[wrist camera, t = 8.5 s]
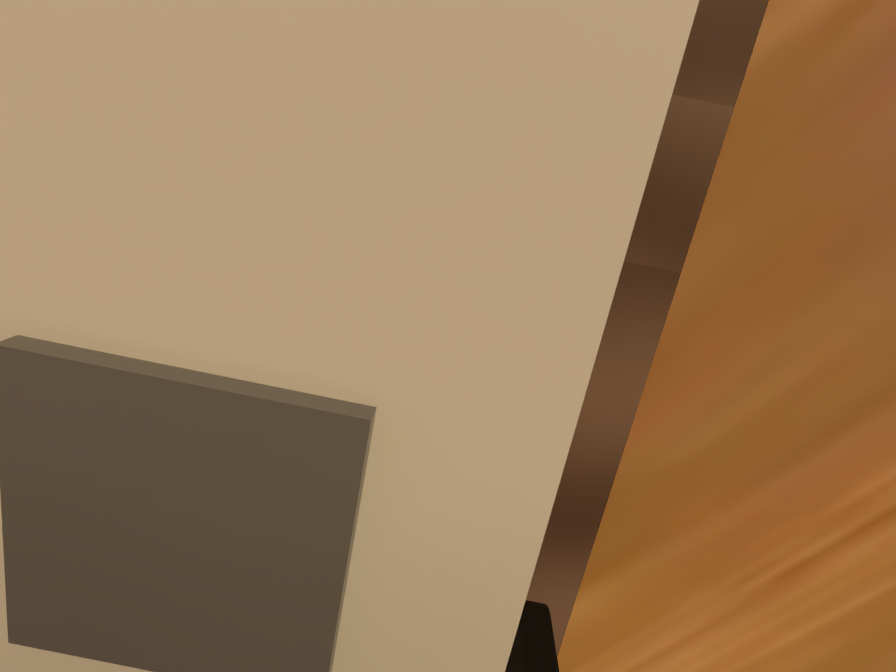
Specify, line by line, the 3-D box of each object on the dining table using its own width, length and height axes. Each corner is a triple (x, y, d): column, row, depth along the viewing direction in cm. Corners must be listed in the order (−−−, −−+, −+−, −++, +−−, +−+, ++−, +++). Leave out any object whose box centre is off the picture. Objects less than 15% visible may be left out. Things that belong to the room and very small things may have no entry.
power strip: (570, 28, 9) (802, -315, 2) (386, 822, 14) (308, 1364, 8) (251, -37, 9) (-350, -552, 2) (188, 783, 14) (-51, 1292, 8)
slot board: (174, -175, 12) (107, -247, 10) (745, -58, 12) (802, -105, 10) (140, 695, 19) (98, 762, 17) (495, 767, 19) (496, 842, 17)
